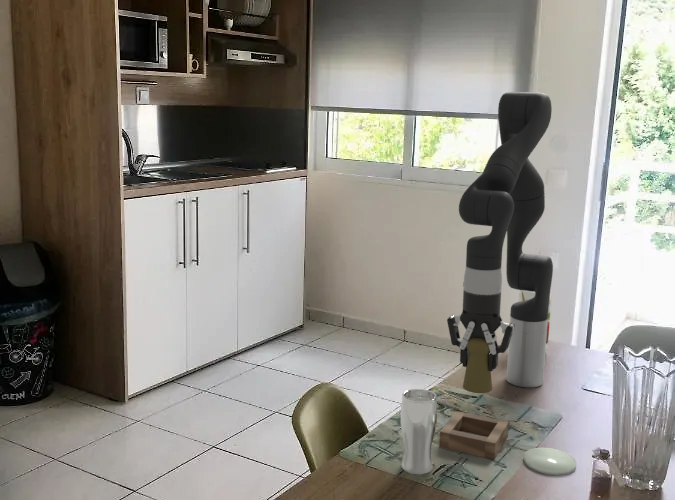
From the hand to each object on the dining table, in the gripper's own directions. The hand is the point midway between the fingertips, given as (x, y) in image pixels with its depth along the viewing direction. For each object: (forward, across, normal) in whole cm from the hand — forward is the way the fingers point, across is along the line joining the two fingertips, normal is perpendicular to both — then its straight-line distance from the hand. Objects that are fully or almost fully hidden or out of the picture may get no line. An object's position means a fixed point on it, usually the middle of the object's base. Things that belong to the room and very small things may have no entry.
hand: (478, 367), depth 153 cm
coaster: (+17, -16, +2) cm, 23 cm away
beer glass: (+17, +7, +16) cm, 24 cm away
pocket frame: (+17, 0, 0) cm, 17 cm away
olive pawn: (+5, 0, 0) cm, 5 cm away
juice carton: (+17, +1, -63) cm, 65 cm away
